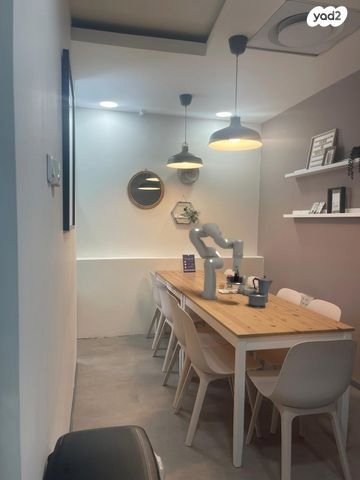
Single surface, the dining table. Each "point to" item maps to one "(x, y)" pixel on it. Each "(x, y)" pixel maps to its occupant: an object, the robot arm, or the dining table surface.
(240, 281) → the lid
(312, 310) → the dining table surface
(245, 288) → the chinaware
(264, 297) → the pot
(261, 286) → the moka pot
